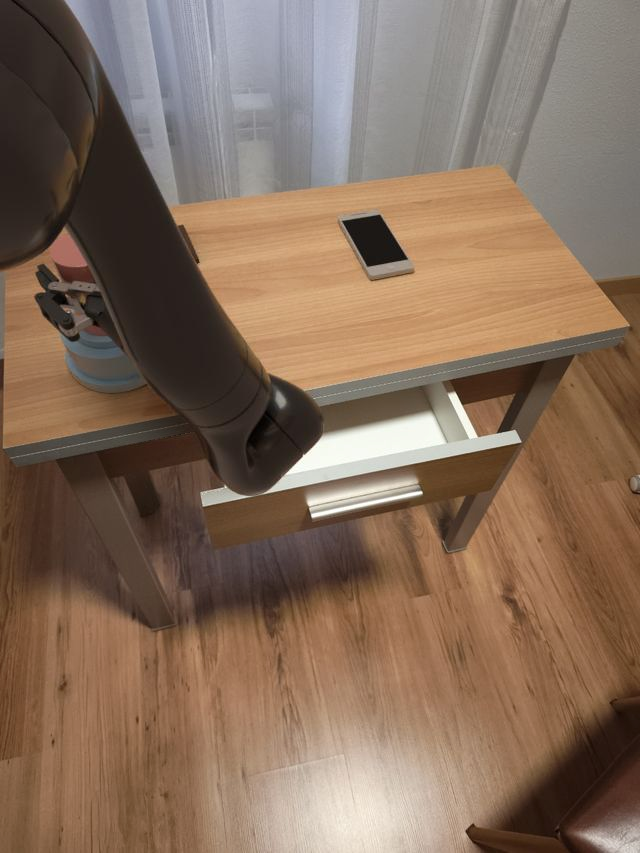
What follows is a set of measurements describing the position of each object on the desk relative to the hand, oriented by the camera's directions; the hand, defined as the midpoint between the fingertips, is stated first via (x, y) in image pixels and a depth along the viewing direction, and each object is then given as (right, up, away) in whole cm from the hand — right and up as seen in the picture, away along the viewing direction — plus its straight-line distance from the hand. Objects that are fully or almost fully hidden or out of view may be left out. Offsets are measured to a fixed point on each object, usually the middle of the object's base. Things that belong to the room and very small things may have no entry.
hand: (78, 255), depth 63 cm
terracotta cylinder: (+1, -6, +6) cm, 8 cm away
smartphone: (+35, +9, +26) cm, 45 cm away
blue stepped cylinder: (+1, -10, +11) cm, 15 cm away
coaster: (+3, +8, +24) cm, 25 cm away
